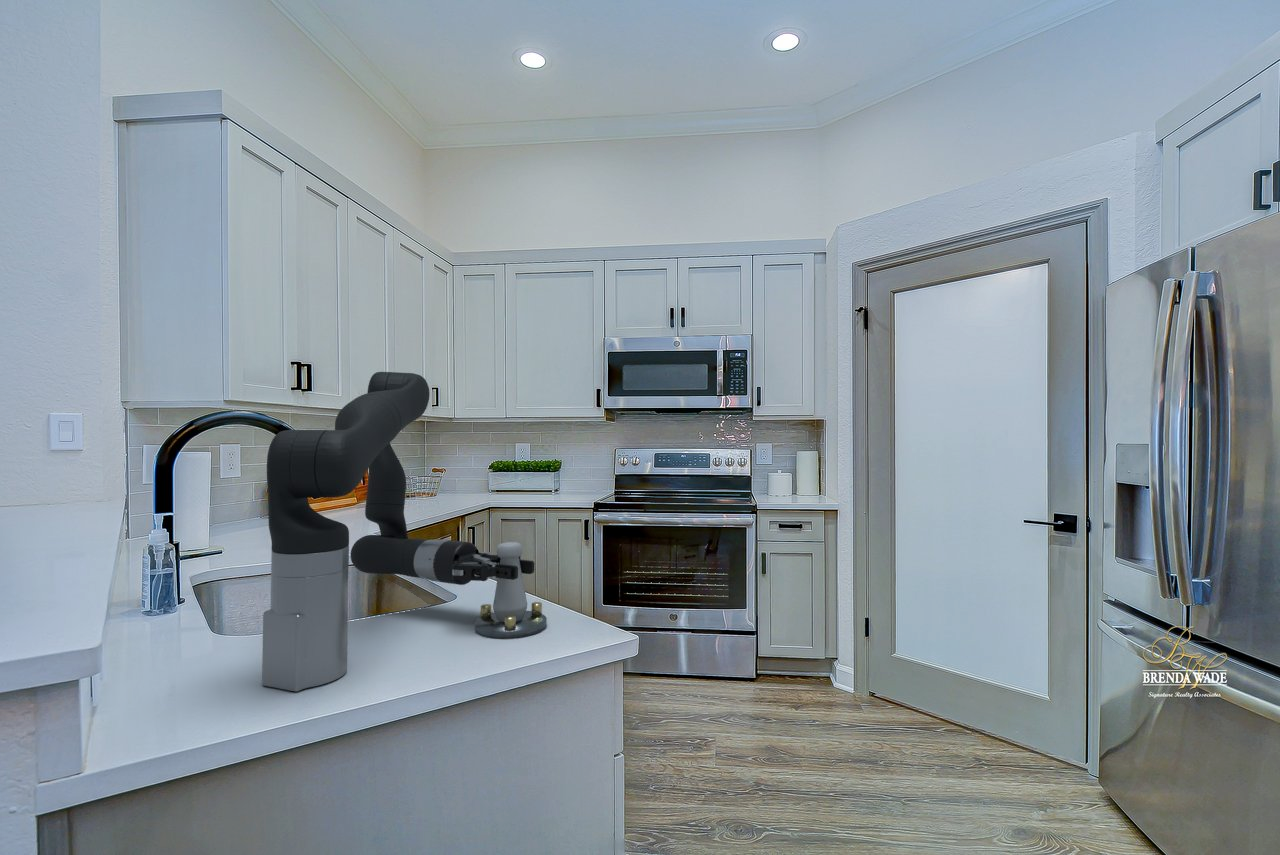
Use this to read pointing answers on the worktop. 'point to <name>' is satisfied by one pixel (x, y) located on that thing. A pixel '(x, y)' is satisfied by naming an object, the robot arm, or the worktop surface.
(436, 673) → the worktop surface
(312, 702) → the worktop surface
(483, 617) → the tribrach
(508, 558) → the salt shaker
